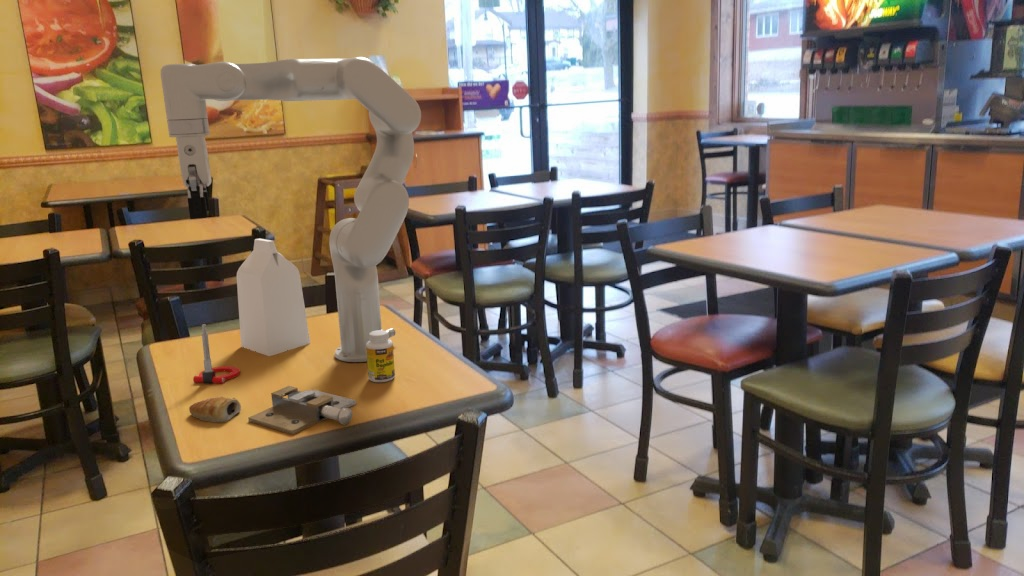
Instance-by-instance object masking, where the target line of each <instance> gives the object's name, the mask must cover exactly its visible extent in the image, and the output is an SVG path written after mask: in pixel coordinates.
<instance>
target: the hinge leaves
mask: <svg viewBox="0 0 1024 576" xmlns="http://www.w3.org/2000/svg"><path fill="white" fill-rule="evenodd" d="M270 394H271V395H270V396H271V403H272V407H270V408H267V409H265V410H263V411H260V412H257V413H256V414H253V415H251V416H249V417H248V423H252V424H256V425H259V426H262V427H266V428H269V429H272V430H276V431H279V432H282V433H286V434H289V435H292V436H293V435H294V436H295V434H298V433H299V432H302V431H304V430H306V429H309V428H311V427H312V426H314V425H316V424H318V423H320V422H322V421H324V420H326V419H328V418H327V417H323V416H319V411H318V407H319V406H321V405H323V404H325V405H329V406H332V407H336V408H340V409H342V408H349V409H350V408H351V407H352V406H356V404H357V401H356V399H352V398H349V397H344V396H341V395H336V394H332V393H328V392H324V391H320V390H318V389H317V390H316V389H309V390H307V389H306V390H303V391H300V390H299V389H298V387H295V386H291V385H287V386H285V387H283V388H280V389H278V390H275V391H273V392H271V393H270ZM286 397H287V398H286ZM303 400H310V401H308V402H306V403H302V402H301V401H303Z"/></svg>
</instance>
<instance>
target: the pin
mask: <svg viewBox="0 0 1024 576" xmlns="http://www.w3.org/2000/svg"><path fill="white" fill-rule="evenodd" d="M308 401H310V400H303V401H301V402H302V403H306V402H308ZM318 411H319V416H323V417H327V419H331V420H335V421H337V422H338V423H339V424H341V425H344V426H347V425H348V424H350V423H351V421H352V419H353V411H352V409H351V408H350V407H349V408H342V409H340V408H336V407H332V406H329V405H325V404H323V405H321V406H319V407H318Z"/></svg>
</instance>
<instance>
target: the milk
mask: <svg viewBox="0 0 1024 576" xmlns="http://www.w3.org/2000/svg"><path fill="white" fill-rule="evenodd" d="M301 281H302V280H301V274H300V271H299V269H298V267H297V266H296V265H295V264H293V262H291V261H289V259H287V258H285V256H284V255H283V254H282V253H280V252H278V250H277V247H276V244H275V241H274V240H273V239H272V240H270V239H266V238H260V237H259V238H255V239H254V243H253V250H252V251H251V252H250V254H248V256H247V257H246V258H245V260H244V261H243V262H242V264H241V265H240V266H239V267H238V270H237V272H236V288H237V303H238V318H239V333H240V335H239V336H240V347H241V348H243V347H244V349H246V348H247V350H249V349H250V351H252V352H255V351H256V352H255V353H259V354H262V355H263V356H267V357H271V356H274V355H278V354H281V353H283V352H284V353H285V352H288V351H290V350H294V349H297V348H300V347H304V346H307V345H310V344H311V339H310V333H309V326H308V319H307V313H306V307H305V300H304V295H303V285H302V282H301ZM287 350H288V351H287Z"/></svg>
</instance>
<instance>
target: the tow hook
mask: <svg viewBox="0 0 1024 576" xmlns="http://www.w3.org/2000/svg"><path fill="white" fill-rule="evenodd" d="M201 329H202V334H201V339H202V348H203V349H202V350H203V364H204V365H203V366H204V367H203V368H204V370H202V371H200V372H199V374H198V375H195V376H194V377H193V382H194V383H197V384H198V383H200V384H212V385H213V384H225V383H226V380H227V381H228V380H231V379H233V378H236V377H238V376H239V375H240V374H241V371H240V368H239V367H236V366H231V365H230V366H216V367H213V365H212V359H211V353H210V344H209V343H210V342H209V334H208V333H207V332H208V331H207V325H206V324H205V323H204V324H201ZM221 372H222V373H223V372H229V373H226V374H222V375H218V376H216V373H221Z"/></svg>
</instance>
